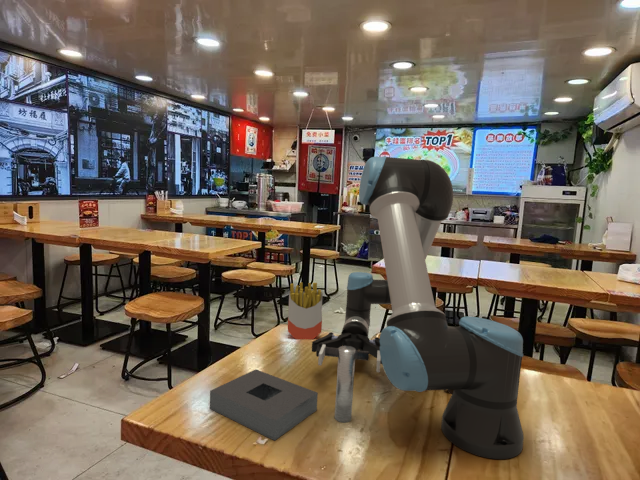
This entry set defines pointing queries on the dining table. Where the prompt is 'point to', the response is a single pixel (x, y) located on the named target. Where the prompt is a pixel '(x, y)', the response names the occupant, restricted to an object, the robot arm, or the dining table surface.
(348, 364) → the chuck key
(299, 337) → the french fries container
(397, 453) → the dining table surface
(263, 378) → the block
